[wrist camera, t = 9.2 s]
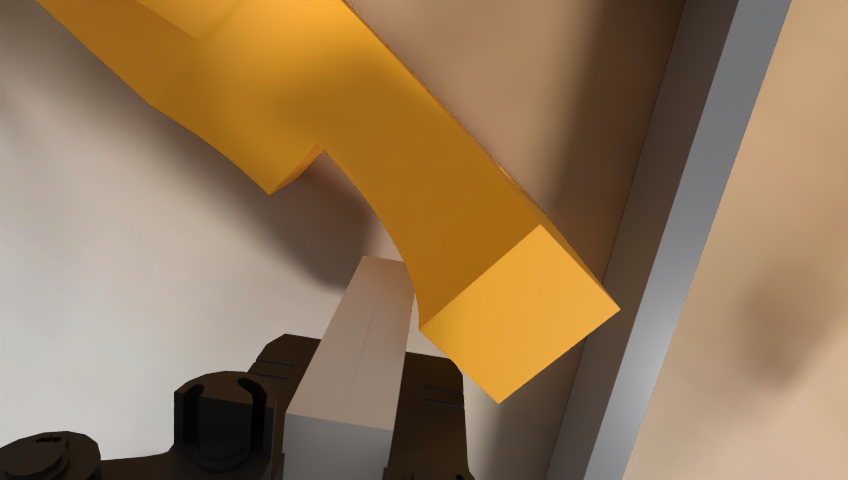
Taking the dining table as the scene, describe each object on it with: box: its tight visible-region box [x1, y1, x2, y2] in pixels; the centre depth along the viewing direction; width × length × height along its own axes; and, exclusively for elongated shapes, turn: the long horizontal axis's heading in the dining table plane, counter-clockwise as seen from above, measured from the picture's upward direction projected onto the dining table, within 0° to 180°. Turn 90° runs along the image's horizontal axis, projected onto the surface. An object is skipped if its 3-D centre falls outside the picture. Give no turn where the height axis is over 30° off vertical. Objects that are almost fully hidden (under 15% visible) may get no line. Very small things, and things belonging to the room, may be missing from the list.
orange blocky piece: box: [36, 0, 621, 404], centre depth 10 cm, size 12×4×6 cm, turn 45°
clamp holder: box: [545, 0, 792, 480], centre depth 13 cm, size 12×21×3 cm, turn 171°
